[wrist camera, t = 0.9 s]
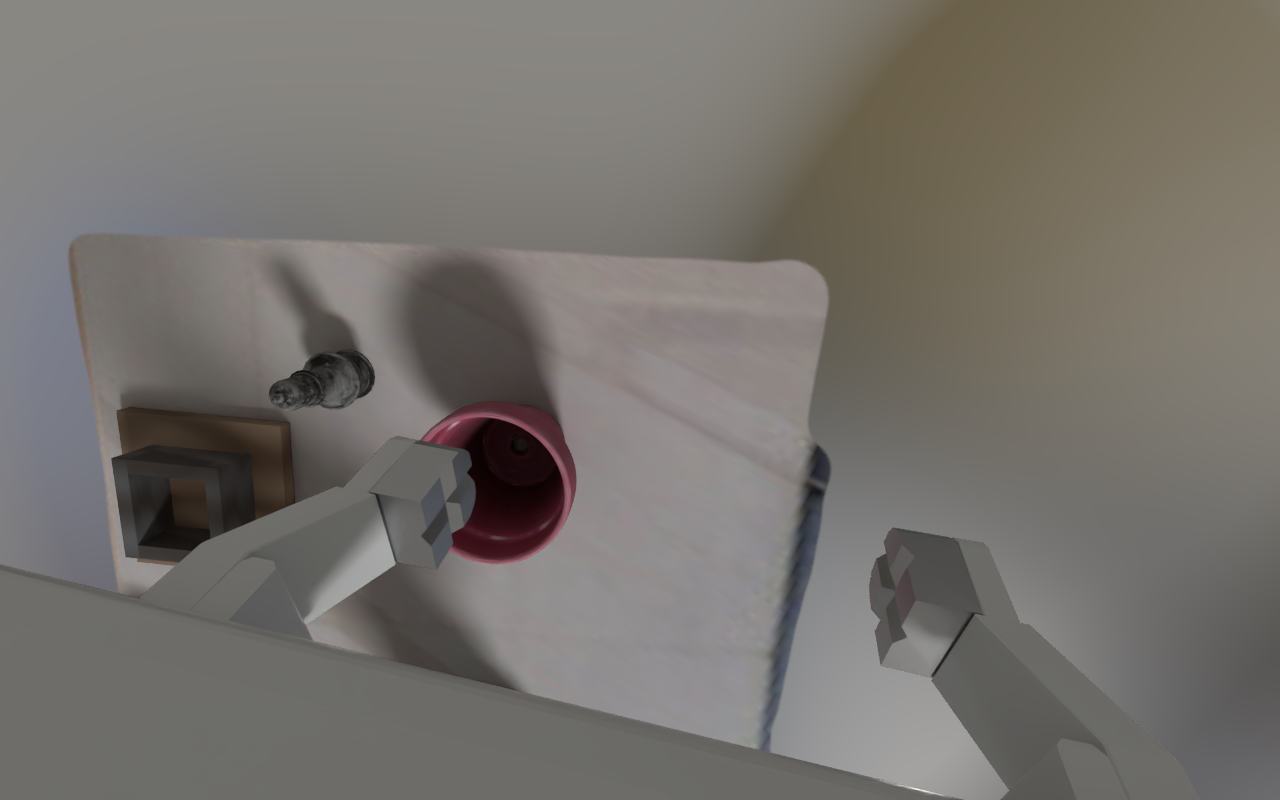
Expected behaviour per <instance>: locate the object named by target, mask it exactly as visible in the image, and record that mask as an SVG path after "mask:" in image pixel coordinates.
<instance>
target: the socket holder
mask: <svg viewBox="0 0 1280 800" xmlns="http://www.w3.org/2000/svg"><path fill="white" fill-rule="evenodd" d="M117 419H118V426H119V433H120V440H121V447H122V454H123V455H120V456H117V457H114V458H111V459H112V466H113V473H114V480H115V487H116V493H117V500H118V507H119V514H120V521H121V528H122V535H123V542H124V548H125V555H126V557H130V558H137V561H138V562H145V563H155V564H164V565H174V566H176V565H177V564H178V563H179V562H180V561H182V560H183V559H184V558H185V557H186V556H187V555H188V554H190V553H191V552H192V551H193V550H194V549H195V548H196V547H197V546H199V545H200V544H201V543H202V542H205V541H207V540H209V539H212V538H214V537H217V536H219V535H221V534H224V533H226V532H228V531H231V530H233V529H236V528H238V527H240V526H243V525H245V524H248V523H250V522H252V521H255V520H257V519H259V518H262V517H264V516H267V515H269V514H271V513H274V512H276V511H279V510H281V509H283V508H286V507H288V506H290V505H293V504H295V500H294V484H293V469H292V454H291V439H290V423H288V422H277V421H267V420H257V419H246V418H236V417H225V416H215V415H205V414H194V413H184V412H173V411H163V410H153V409H142V408H132V407H129V408H125V409H121V410H117Z"/></svg>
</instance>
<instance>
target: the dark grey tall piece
mask: <svg viewBox="0 0 1280 800" xmlns="http://www.w3.org/2000/svg"><path fill="white" fill-rule="evenodd" d="M374 380H375V375H374V370H373V367H372V365H371V363H370V362H369V361H368V359H367V358H366V357H364V356H363V355H362V354H360V353H358V352H356V351H352V350H343V351H339V352H337V353H333V352H322V353H318V354H315V355H314V356H312V357H311V358H310V359H309V360H308V361H307V362H306V363H305V366H304V368H303V370H300V371H296V372H295V373H293V374H292V375H291V376H290V377H289V378H287V379H284V380H280V381H277V382H276V383H274V384H273V385H272V386H271V388H270V391H269V397H270V400H271V402H272V403H273V405H275V406H276V407H277V408H278V409H280V410H283V411H293V410H296V409H299V408H301V407H307V408H312V407H316V406H318V405H320V406H322V407H324V408H328V409H341V408H345V407H347V406H349V405H350V404H352V403H353V401H354V400H355V399H357V398H361V397H363V396H365V395H367V394H368V393H369V392H370V391H371V389H372V387H373V385H374Z"/></svg>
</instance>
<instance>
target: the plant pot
mask: <svg viewBox="0 0 1280 800" xmlns="http://www.w3.org/2000/svg"><path fill="white" fill-rule="evenodd" d="M516 438H522V439H524V440H525V441H526V442H527V444H528V450H527V451H526V452H523V453H518V452H516V451H515V450H514V449H513V448H512V441H513V440H514V439H516ZM421 440H422V441H426V442H431V443H436V444H441V445H446V446H450V447H455V448H460V449H464V450H466V451H468V452H469V453H470V458H471V463H472V466H471V467H470V469H469V470H468V472H467V474H468V475H469V476H470V477H471V478H472V479H473V481H474V482H475V489H476V496H475V504H474V507H473V510H472V513H471V516H470V517H469V519H468V521H467V522H466V524H465V526H464V527H462V528H461V529H459V530H457V531H455V532H453V533H451V534H452V539H453V545H452V546H451V548H450V549H449V550H450V551H451V552H453V553H455V554H457V555H459V556H462V557H464V558H466V559H469V560H472V561H476V562H481V563H487V564H506V563H513V562H517V561H521V560H524V559H526V558H529V557H531V556H533V555H534V554H536V553H538V552H539V551H541V550H542V549H544V548H545V547H546V546H547V545H548V544H549V543H550V542H551V541H553V539H554V538H555V537H556V536H557V534H558V533H559V532H560V530H561V529H562V527H563V525H564V524H565V522H566V520H567V517H568V515H569V512H570V510H571V507H572V504H573V500H574V496H575V491H576V469H575V465H574V461H573V458H572V455H571V453H570V450H569V449H568V447H567V445H566V443H565V439H564V435H563V432H562V430H561V428H560V426H559V425H558V424H557V422H556V421H555V420H554V419H553V418H552V417H551V416H550V415H549V414H547V413H546V412H544V411H542V410H540V409H538V408H536V407H532V406H527V405H515V404H511V403H506V402H494V401H491V402H480V403H476V404H472V405H468V406H466V407H463V408H461V409H459V410H457V411H455V412H454V413H452V414H450V415H449V416H447V417H446V418H444V419H443V420H441V421H440V422H439V423H437V424H436V425H435V426H434V427H432V428H431V429H430V430H429V431H428V432H427V433H426V434H425V435H424V436H423V438H422V439H421Z"/></svg>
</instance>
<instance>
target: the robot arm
mask: <svg viewBox="0 0 1280 800" xmlns="http://www.w3.org/2000/svg"><path fill="white" fill-rule="evenodd" d="M471 466H472V463H471V458H470V453H469V452H468V451H466V450H464V449H460V448H455V447H450V446H446V445H441V444H436V443H431V442H426V441H422V440H419V441H418V440H414V439H409V438H405V437H400V436H396V437H394V438H391V439H389V440H388V441H387V442H386V443H385V444H384V445H383V447H382V448H381V449H380V450H379V451H378V452H377V453H376V454H375V455H374V456H373V457H372V458H371V459H370V460H369V461H368V462H367V463H366V464H365V465H364V466H363V467H362V468H361V469H360V470H359V471H358V472H357V473H356V475H355V476H354V477H353V478H352V479H351V480H350V481H349V482H348V483H347V484H346V485H345V486H344V487H343V488H341V487H333V488H331V489H329V490H326V491H324V492H321V493H319V494H317V495H314V496H312V497H310V498H307V499H305V500H302V501H300V502H298V503H295V504H293V505H290V506H288V507H286V508H283V509H281V510H279V511H276V512H274V513H271V514H269V515H267V516H264V517H262V518H259V519H257V520H255V521H252V522H250V523H248V524H245V525H243V526H240V527H238V528H236V529H233V530H231V531H228V532H226V533H224V534H221V535H219V536H217V537H214V538H212V539H209V540H207V541H205V542H202V543H201V544H200V545H199V546H197V547H196V548H195V549H194V550H193V551H192V552H191V553H190V554H188V555H187V556H186V557H185V558H184V559H183V560H182V561H180V562H179V563H178V564H177V565H176V566H175V567H174V568H172V569H171V570H170V571H169V572H168V573H167V574H166V575H165V576H163V577H162V578H161V579H160V580H159V581H158V582H157V583H155V584H154V585H153V586H152V587H151V588H150V589H149V590H148V591H146V592H145V593H144V594H143V595H142V596H141V597H140V598H135V597H131V596H127V595H123V594H119V593H115V592H111V591H107V590H102V589H99V588H94V587H90V586H86V585H82V584H78V583H74V582H70V581H66V580H62V579H58V578H54V577H50V576H45V575H41V574H37V573H33V572H29V571H25V570H21V569H17V568H13V567H9V566H5V565H0V800H962V799H958V798H954V797H950V796H946V795H941V794H937V793H933V792H929V791H925V790H921V789H917V788H913V787H909V786H905V785H901V784H897V783H892V782H888V781H884V780H880V779H876V778H872V777H868V776H864V775H860V774H855V773H851V772H847V771H843V770H839V769H835V768H831V767H827V766H822V765H818V764H815V763H810V762H806V761H802V760H798V759H794V758H790V757H786V756H782V755H778V754H773V753H769V752H765V751H761V750H757V749H753V748H749V747H745V746H741V745H737V744H733V743H728V742H724V741H720V740H716V739H712V738H708V737H704V736H700V735H696V734H692V733H688V732H684V731H679V730H675V729H671V728H667V727H663V726H659V725H655V724H651V723H647V722H643V721H639V720H635V719H630V718H626V717H622V716H618V715H614V714H610V713H606V712H602V711H598V710H594V709H590V708H586V707H581V706H577V705H573V704H569V703H565V702H561V701H557V700H553V699H549V698H545V697H541V696H536V695H532V694H528V693H524V692H520V691H516V690H512V689H508V688H504V687H500V686H496V685H491V684H487V683H483V682H479V681H475V680H471V679H467V678H463V677H459V676H455V675H451V674H447V673H442V672H438V671H434V670H430V669H426V668H422V667H418V666H414V665H410V664H406V663H402V662H397V661H393V660H389V659H385V658H381V657H377V656H373V655H369V654H365V653H361V652H357V651H352V650H348V649H344V648H340V647H336V646H332V645H328V644H324V643H320V642H316V641H313V639H312V637H311V635H310V633H309V631H308V629H307V627H306V624H308V623H309V622H311V621H312V620H314V619H315V618H317V617H318V616H319V615H321V614H322V613H324V612H325V611H327V610H328V609H330V608H331V607H333V606H334V605H336V604H337V603H339V602H340V601H342V600H343V599H345V598H346V597H348V596H349V595H351V594H352V593H354V592H355V591H357V590H358V589H360V588H361V587H363V586H364V585H366V584H367V583H369V582H370V581H372V580H373V579H375V578H376V577H378V576H379V575H381V574H382V573H384V572H385V571H387V570H388V569H390V568H391V567H393V566H394V565H395V564H396V563H395V562H399V563H404V564H409V565H415V566H420V567H426V568H431V569H436V570H437V568H438V566H439V565H440V563H441V562H442V560H443V559H444V557H445V556H446V554H447V552H448V551H449V549H450V548H451V546H452V545H453V539H452V534H451V533H453V532H455V531H457V530H459V529H461V528H462V527H464V526H465V524H466V522H467V521H468V519H469V517H470V516H471V513H472V510H473V507H474V504H475V496H476V489H475V482H474V481H473V479H472V478H471V477H470V476H469V475H468V474H467V472H468V470H469V469H470V467H471ZM884 545H885V549H886V554H884V555H882V556H880V557H879V558H877V559H876V561H875V564H874V567H873V569H872V572H871V578H870V585H869V591H870V603H871V609H872V611H873V612H874V613H875V614H876V615H877V617H878V618H879V619H880V622H879V624H878V626H877V628H876V630H875V635H876V641H877V647H878V652H879V658H880V664H881V666H884V667H888V668H892V669H896V670H900V671H904V672H909V673H913V674H917V675H921V676H925V677H929V678H933V679H932V682H933V683H934V685H935V686H936V688H937V689H938V690H939V692H940V693H941V695H942V696H943V697H944V699H945V700H946V702H947V703H948V704H949V706H950V707H951V709H952V710H953V712H954V713H955V714H956V716H957V717H958V719H959V720H960V721H961V723H962V724H963V726H964V727H965V729H966V730H967V731H968V733H969V734H970V736H971V737H972V738H973V740H974V741H975V743H976V744H977V745H978V747H979V748H980V750H981V751H982V753H983V754H984V755H985V757H986V758H987V760H988V761H989V762H990V764H991V765H992V767H993V768H994V769H995V771H996V772H997V774H998V775H999V777H1000V778H1001V779H1002V781H1003V782H1004V783H1005V785H1006V786H1007V788H1008V789H1009V791H1008V792H1007V794H1005V795H1004V797H1003V798H1002V799H1001V800H1200V799H1199V797H1198V795H1197V793H1196V792H1195V790H1194V788H1193V786H1192V785H1191V783H1190V781H1189V779H1188V777H1187V775H1186V773H1185V772H1184V770H1183V768H1182V766H1181V764H1180V763H1179V762H1178V761H1177V760H1176V759H1175V758H1174V757H1173V756H1172V755H1171V754H1170V753H1168V751H1166V750H1165V749H1164V748H1163V747H1162V746H1161V745H1160V744H1159V743H1158V742H1157V741H1156V740H1154V739H1153V738H1152V737H1151V736H1150V735H1149V734H1148V733H1147V732H1146V731H1145V730H1144V729H1143V728H1141V727H1140V726H1139V725H1138V724H1137V723H1136V722H1135V721H1134V720H1133V719H1132V718H1131V717H1129V716H1128V715H1127V714H1126V713H1125V712H1124V711H1123V710H1122V709H1121V708H1120V707H1119V706H1117V705H1116V704H1115V703H1114V702H1113V701H1112V700H1111V699H1110V698H1109V697H1108V696H1107V695H1105V694H1104V693H1103V692H1102V691H1101V690H1100V689H1099V688H1098V687H1097V686H1096V685H1095V684H1093V683H1092V682H1091V681H1090V680H1089V679H1088V678H1087V677H1086V676H1085V675H1084V674H1083V673H1081V672H1080V671H1079V670H1078V669H1077V668H1076V667H1075V666H1074V665H1073V664H1072V663H1071V662H1069V661H1068V660H1067V659H1066V658H1065V657H1064V656H1063V655H1062V654H1061V653H1060V652H1059V651H1058V650H1056V649H1055V648H1054V647H1053V646H1052V645H1051V644H1050V643H1049V642H1048V641H1047V640H1046V639H1044V638H1043V637H1042V636H1041V635H1040V634H1039V633H1038V632H1037V631H1036V630H1035V629H1034V628H1032V627H1031V626H1030V625H1028V624H1023V623H1020V622H1019V619H1018V617H1017V614H1016V612H1015V610H1014V607H1013V605H1012V602H1011V600H1010V598H1009V595H1008V593H1007V591H1006V588H1005V586H1004V583H1003V581H1002V579H1001V576H1000V574H999V572H998V569H997V567H996V565H995V562H994V560H993V557H992V555H991V553H990V550H989V548H988V547H987V546H986V545H985V544H984V543H982V542H976V541H970V540H965V539H959V538H950V537H945V536H940V535H934V534H928V533H922V532H916V531H910V530H905V529H899V528H892V529H891V530H890V531H889V532H888V534H887V537H886V539H885V541H884Z"/></svg>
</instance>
